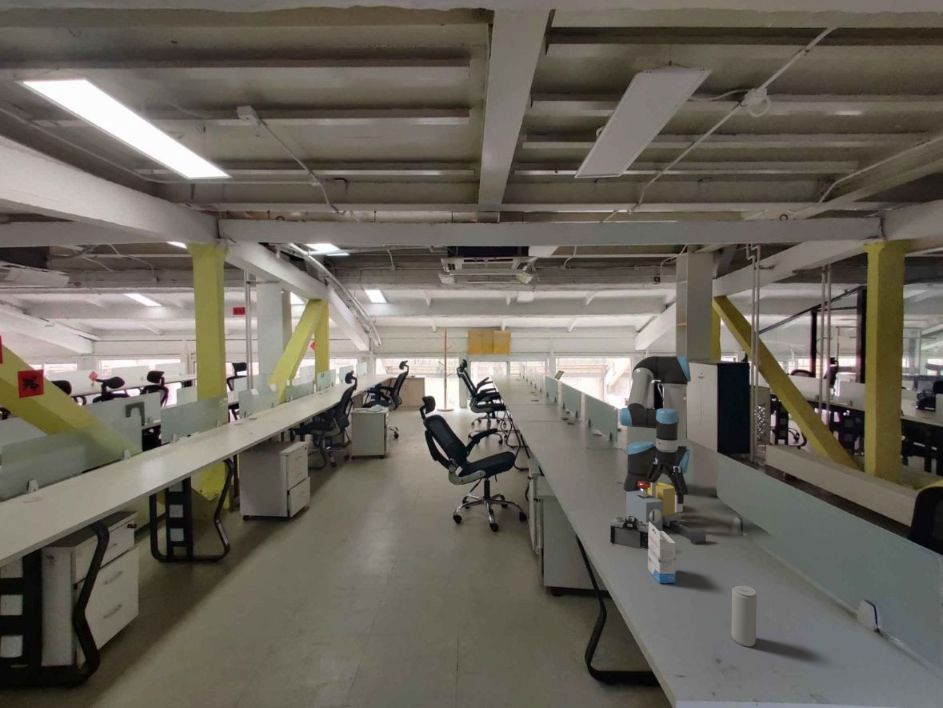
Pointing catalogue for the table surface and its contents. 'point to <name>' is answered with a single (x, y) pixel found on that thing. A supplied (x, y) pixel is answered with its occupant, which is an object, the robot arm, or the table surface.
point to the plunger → (643, 489)
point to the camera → (629, 532)
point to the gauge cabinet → (645, 508)
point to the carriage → (667, 503)
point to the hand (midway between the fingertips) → (665, 505)
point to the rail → (689, 532)
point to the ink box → (661, 555)
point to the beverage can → (744, 615)
